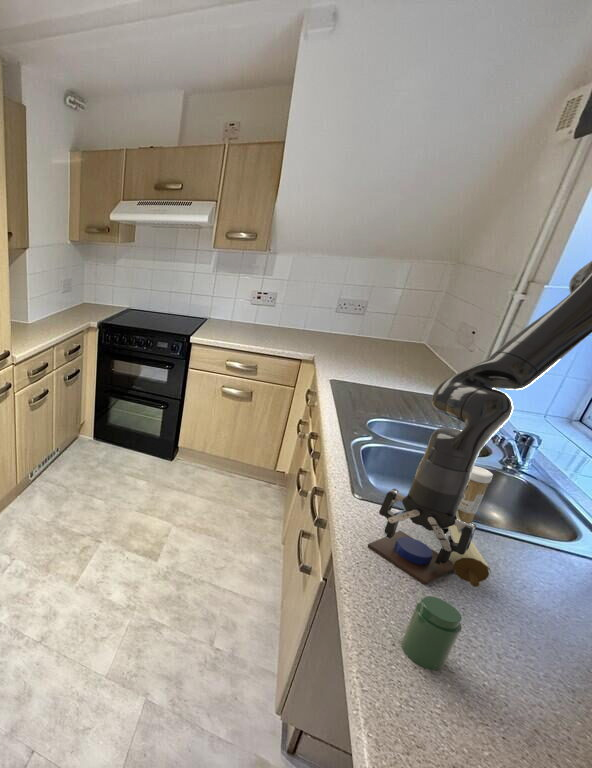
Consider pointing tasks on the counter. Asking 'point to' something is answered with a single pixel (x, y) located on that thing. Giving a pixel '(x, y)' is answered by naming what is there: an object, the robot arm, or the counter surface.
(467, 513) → the sprinkles bottle
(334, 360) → the counter surface
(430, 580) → the coaster
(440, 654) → the jar
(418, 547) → the lid
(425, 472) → the robot arm
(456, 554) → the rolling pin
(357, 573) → the counter surface
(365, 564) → the counter surface
